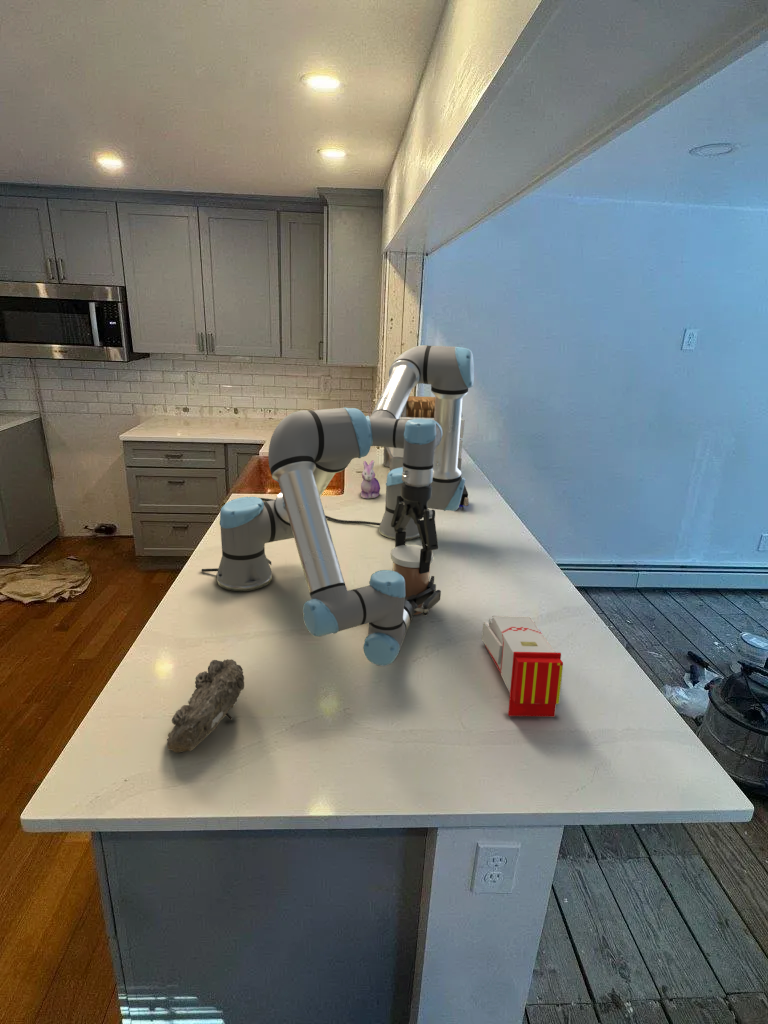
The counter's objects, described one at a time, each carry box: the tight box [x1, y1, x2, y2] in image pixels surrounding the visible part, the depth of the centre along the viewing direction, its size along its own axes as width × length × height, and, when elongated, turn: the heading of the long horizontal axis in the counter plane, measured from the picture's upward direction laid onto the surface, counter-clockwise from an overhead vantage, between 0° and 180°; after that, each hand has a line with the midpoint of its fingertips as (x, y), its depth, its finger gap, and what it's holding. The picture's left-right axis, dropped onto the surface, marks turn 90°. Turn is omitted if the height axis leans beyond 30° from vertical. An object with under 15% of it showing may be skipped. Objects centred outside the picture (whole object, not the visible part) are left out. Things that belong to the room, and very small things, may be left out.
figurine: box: [360, 460, 381, 499], centre depth 236 cm, size 9×10×15 cm
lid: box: [390, 544, 435, 568], centre depth 147 cm, size 11×11×2 cm
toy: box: [481, 615, 564, 718], centre depth 123 cm, size 12×13×30 cm
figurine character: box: [459, 484, 470, 511], centre depth 230 cm, size 7×8×15 cm
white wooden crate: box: [383, 395, 465, 472], centre depth 268 cm, size 34×33×41 cm
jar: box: [391, 561, 432, 616], centre depth 149 cm, size 10×10×15 cm
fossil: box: [166, 658, 245, 754], centre depth 106 cm, size 22×10×15 cm
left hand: (413, 577), depth 154 cm, fingers closed on jar, 10 cm apart
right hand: (411, 563), depth 148 cm, fingers closed on lid, 11 cm apart
